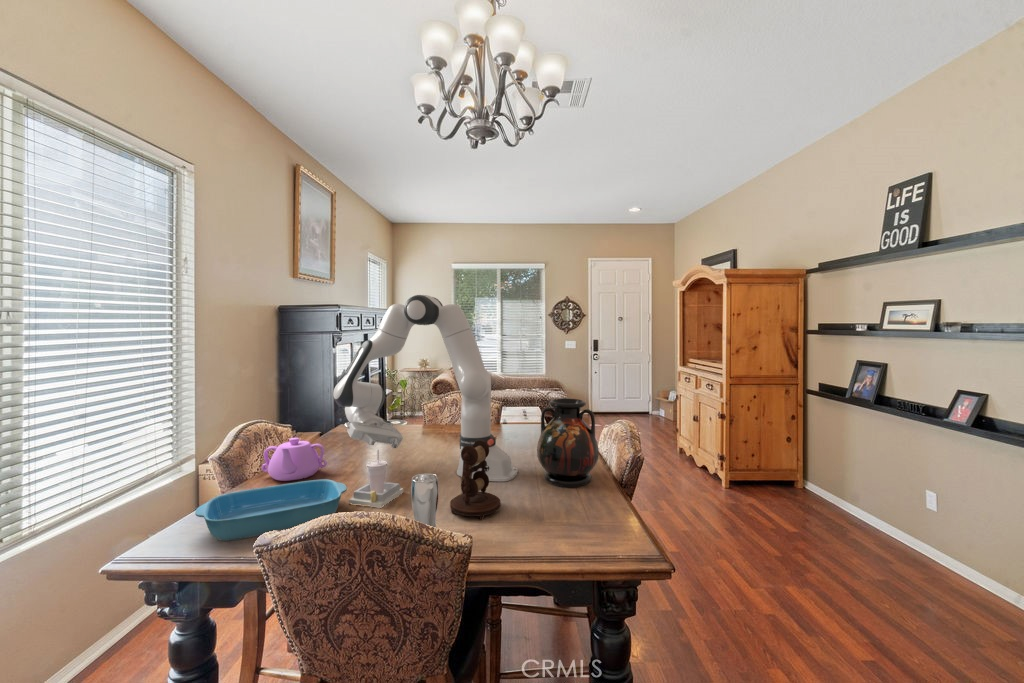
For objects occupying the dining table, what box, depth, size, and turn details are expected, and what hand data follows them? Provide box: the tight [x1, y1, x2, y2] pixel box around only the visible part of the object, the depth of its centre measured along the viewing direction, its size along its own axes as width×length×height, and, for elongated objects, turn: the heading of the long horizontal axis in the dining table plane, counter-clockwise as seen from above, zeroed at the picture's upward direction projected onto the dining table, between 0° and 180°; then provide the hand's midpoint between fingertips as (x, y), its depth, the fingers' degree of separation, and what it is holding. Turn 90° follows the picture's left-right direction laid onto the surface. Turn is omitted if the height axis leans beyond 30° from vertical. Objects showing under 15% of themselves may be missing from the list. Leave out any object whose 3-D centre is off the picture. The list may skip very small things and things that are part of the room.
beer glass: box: [410, 473, 440, 528], centre depth 113 cm, size 7×7×15 cm
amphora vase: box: [536, 398, 600, 488], centre depth 153 cm, size 22×22×28 cm
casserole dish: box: [194, 478, 348, 542], centre depth 122 cm, size 37×22×7 cm, turn 121°
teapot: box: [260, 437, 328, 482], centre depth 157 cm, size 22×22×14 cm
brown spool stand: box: [449, 440, 502, 521], centre depth 128 cm, size 15×15×20 cm
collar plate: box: [348, 481, 404, 509], centre depth 137 cm, size 11×13×4 cm
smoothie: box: [365, 449, 388, 493], centre depth 137 cm, size 6×6×14 cm
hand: (384, 444), depth 151 cm, fingers open, 8 cm apart
